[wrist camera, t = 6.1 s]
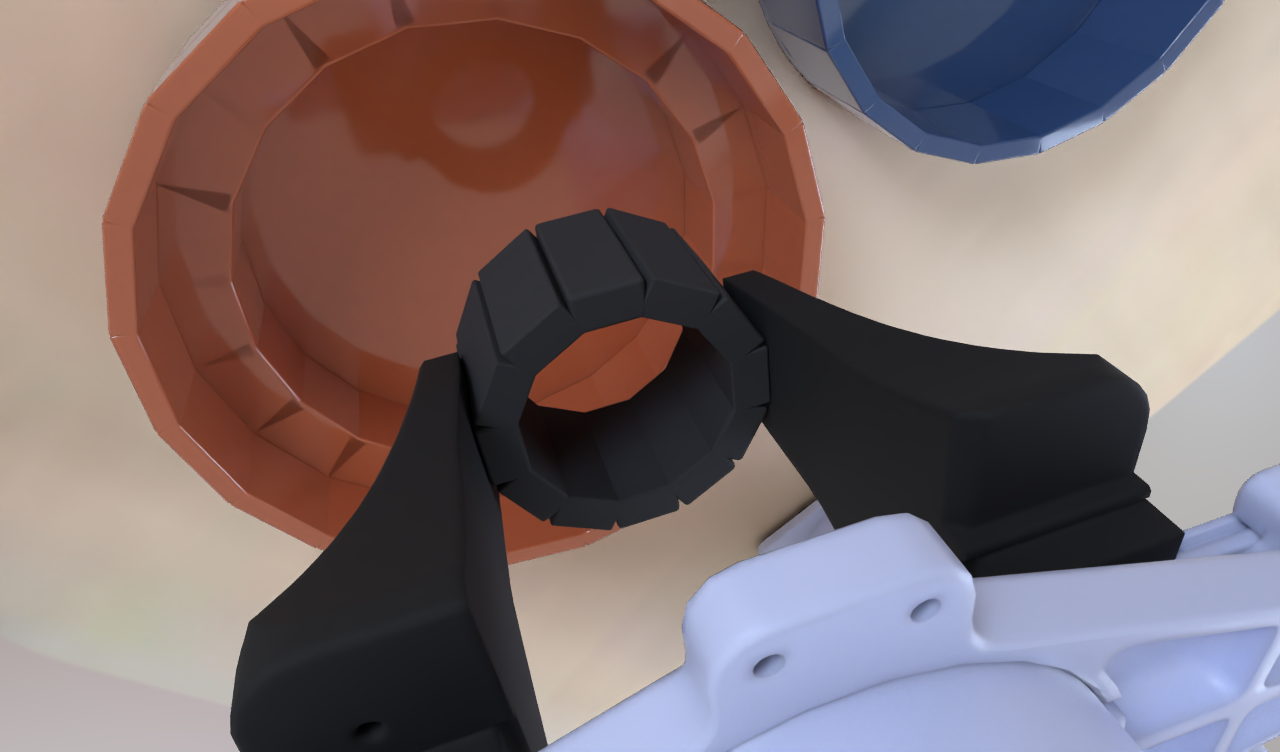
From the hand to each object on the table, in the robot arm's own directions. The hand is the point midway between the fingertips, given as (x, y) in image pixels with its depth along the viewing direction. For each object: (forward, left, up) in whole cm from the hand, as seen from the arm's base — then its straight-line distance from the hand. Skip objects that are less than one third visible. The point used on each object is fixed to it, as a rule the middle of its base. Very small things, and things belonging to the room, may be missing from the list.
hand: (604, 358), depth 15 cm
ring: (0, 0, -1) cm, 1 cm away
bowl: (0, +2, -8) cm, 8 cm away
